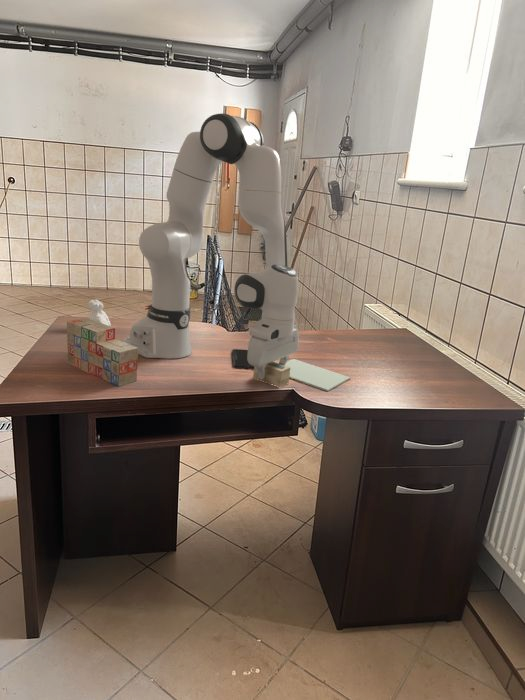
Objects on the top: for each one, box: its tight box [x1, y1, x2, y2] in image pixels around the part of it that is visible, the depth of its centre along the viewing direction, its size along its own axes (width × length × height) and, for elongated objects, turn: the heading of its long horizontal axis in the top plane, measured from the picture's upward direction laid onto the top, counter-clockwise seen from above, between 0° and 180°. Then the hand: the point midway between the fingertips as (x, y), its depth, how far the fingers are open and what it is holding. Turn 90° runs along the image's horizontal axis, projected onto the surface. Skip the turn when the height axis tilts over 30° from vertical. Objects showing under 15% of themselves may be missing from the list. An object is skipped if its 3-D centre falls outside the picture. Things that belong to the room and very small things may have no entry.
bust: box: [86, 299, 112, 327], centre depth 170 cm, size 12×8×11 cm
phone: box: [231, 348, 254, 370], centre depth 158 cm, size 8×1×15 cm
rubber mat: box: [285, 358, 351, 392], centre depth 152 cm, size 20×14×1 cm
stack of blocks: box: [66, 317, 139, 387], centre depth 136 cm, size 21×6×12 cm, turn 54°
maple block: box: [252, 361, 290, 388], centre depth 144 cm, size 9×4×5 cm, turn 55°
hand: (271, 373), depth 144 cm, fingers open, 8 cm apart
